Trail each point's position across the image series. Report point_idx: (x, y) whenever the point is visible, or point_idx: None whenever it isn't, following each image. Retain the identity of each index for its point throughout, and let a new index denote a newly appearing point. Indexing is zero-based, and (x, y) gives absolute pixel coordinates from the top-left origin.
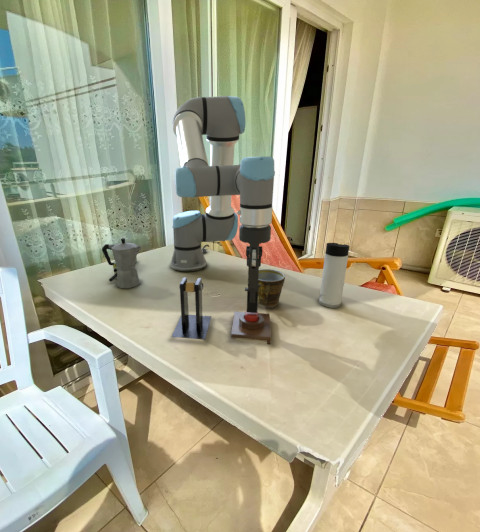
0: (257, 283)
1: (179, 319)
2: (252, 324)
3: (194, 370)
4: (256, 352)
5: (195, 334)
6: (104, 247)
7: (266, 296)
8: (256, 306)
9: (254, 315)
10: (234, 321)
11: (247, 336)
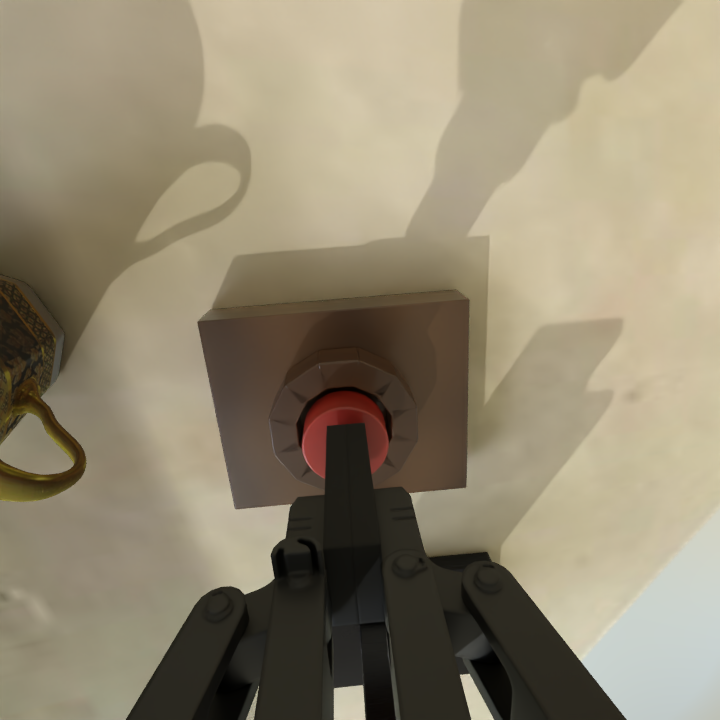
0: (585, 674)
1: (355, 685)
2: (416, 416)
3: (652, 543)
4: (526, 349)
5: None
6: None
7: (21, 371)
8: (368, 454)
9: (371, 428)
10: None
11: (465, 413)
